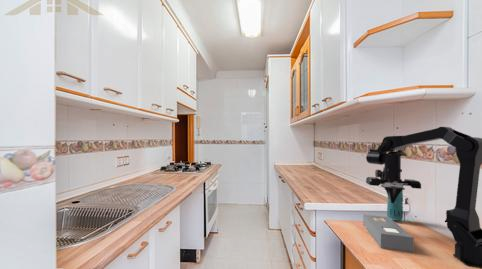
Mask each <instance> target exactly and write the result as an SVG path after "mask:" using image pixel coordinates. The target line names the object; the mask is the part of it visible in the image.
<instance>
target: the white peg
mask: <svg viewBox="0 0 482 269" xmlns="http://www.w3.org/2000/svg"><path fill="white" fill-rule="evenodd" d="M383 229H384V230H385V231H386V232H392V233H399V232H398V231H397V230H396V229H392V228H383Z"/></svg>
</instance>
